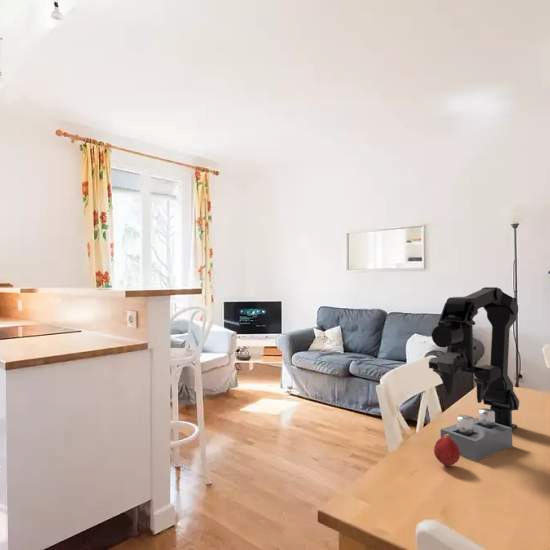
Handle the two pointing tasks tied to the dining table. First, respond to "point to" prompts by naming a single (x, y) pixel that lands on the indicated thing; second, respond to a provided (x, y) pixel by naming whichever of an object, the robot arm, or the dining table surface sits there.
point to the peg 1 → (465, 425)
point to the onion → (447, 451)
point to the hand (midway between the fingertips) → (463, 398)
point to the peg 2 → (487, 418)
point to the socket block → (480, 440)
